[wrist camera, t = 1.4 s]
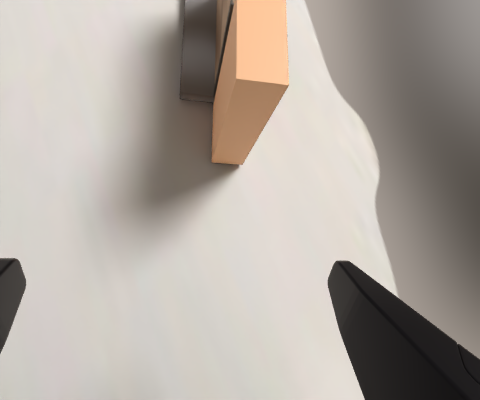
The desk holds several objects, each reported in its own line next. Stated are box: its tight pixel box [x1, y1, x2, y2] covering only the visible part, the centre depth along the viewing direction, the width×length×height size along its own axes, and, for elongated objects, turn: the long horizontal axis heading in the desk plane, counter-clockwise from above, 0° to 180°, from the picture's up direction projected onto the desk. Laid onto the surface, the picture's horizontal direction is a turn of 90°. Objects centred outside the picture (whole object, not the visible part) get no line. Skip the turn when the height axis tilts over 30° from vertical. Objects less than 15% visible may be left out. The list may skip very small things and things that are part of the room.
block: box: [212, 0, 289, 165], centre depth 20 cm, size 5×2×11 cm, turn 0°
